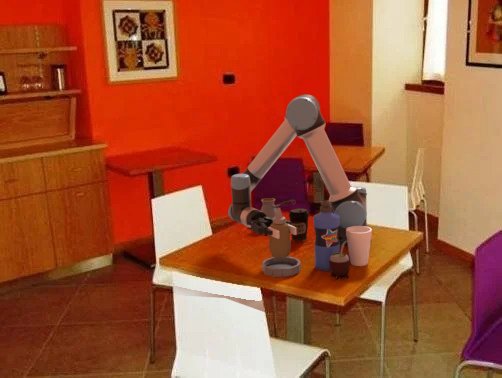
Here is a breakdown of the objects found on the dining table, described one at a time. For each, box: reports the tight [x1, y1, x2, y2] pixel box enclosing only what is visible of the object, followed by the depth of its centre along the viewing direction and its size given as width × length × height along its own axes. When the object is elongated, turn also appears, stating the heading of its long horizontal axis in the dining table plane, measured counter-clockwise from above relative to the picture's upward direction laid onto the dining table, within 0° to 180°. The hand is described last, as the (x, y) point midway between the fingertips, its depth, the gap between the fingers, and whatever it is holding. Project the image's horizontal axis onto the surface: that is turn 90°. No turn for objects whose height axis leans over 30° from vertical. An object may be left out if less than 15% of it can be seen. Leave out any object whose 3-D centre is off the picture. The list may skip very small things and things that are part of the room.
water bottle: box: [312, 199, 341, 272], centre depth 219 cm, size 9×9×25 cm
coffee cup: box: [288, 208, 310, 243], centre depth 253 cm, size 9×8×13 cm
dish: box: [261, 256, 302, 278], centre depth 220 cm, size 14×14×3 cm
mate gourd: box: [329, 240, 351, 281], centre depth 209 cm, size 8×8×15 cm
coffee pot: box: [260, 197, 296, 229], centre depth 270 cm, size 21×12×15 cm, turn 46°
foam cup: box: [346, 226, 373, 267], centre depth 222 cm, size 10×9×13 cm
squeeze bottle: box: [268, 207, 292, 258], centre depth 217 cm, size 8×8×18 cm
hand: (287, 233), depth 213 cm, fingers closed on squeeze bottle, 6 cm apart
